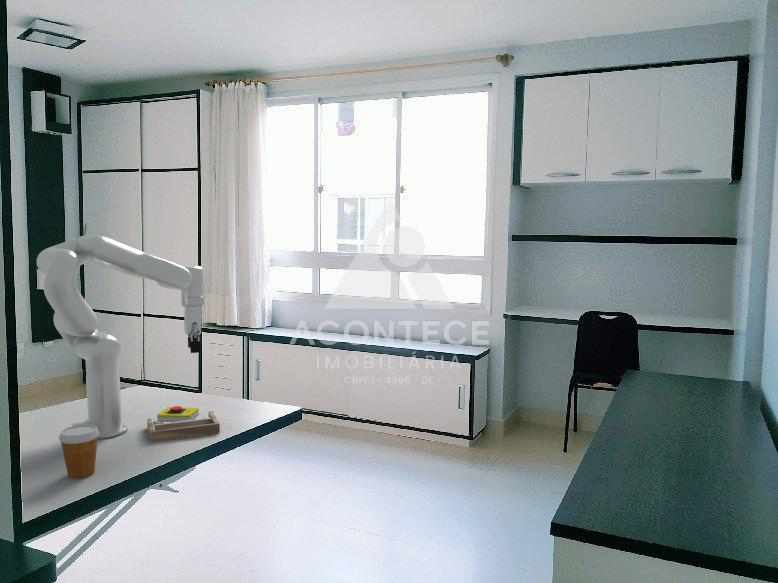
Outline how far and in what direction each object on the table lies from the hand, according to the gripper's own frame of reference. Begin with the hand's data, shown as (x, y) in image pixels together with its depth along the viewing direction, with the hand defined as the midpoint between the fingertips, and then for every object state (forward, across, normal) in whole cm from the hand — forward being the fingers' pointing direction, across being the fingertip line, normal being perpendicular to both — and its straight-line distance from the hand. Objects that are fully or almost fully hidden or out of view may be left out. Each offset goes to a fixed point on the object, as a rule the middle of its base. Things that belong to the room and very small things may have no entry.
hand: (194, 349), depth 216 cm
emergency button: (+22, +8, -6) cm, 25 cm away
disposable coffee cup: (+22, +47, -33) cm, 62 cm away
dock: (+22, +21, -6) cm, 31 cm away
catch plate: (+21, +22, -6) cm, 31 cm away
